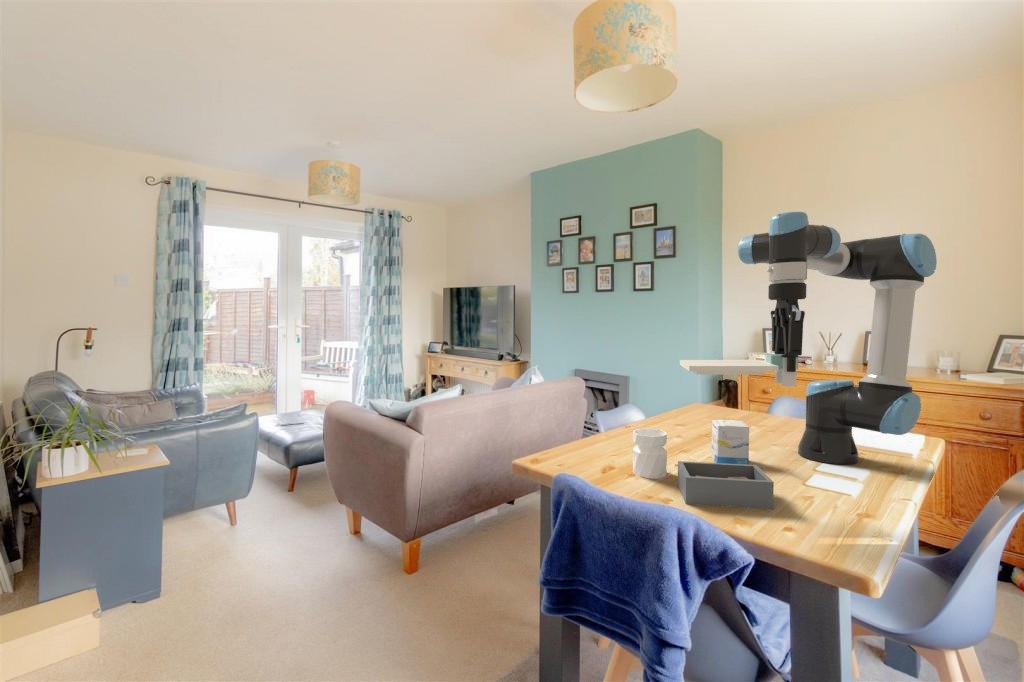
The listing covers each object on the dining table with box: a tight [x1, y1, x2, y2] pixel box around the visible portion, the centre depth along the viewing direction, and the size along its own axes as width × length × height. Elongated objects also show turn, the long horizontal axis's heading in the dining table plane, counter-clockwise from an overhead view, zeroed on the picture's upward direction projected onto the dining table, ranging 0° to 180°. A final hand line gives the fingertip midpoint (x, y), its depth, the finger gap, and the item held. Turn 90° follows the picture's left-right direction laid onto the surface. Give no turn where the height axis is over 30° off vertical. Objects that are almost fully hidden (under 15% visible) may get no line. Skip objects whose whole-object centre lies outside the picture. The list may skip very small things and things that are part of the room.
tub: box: [677, 460, 775, 510], centre depth 111 cm, size 18×12×7 cm, turn 79°
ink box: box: [710, 419, 750, 465], centre depth 140 cm, size 8×8×12 cm
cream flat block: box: [679, 353, 799, 376], centre depth 112 cm, size 24×13×4 cm, turn 80°
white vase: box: [632, 428, 668, 480], centre depth 128 cm, size 9×9×12 cm
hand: (785, 384), depth 111 cm, fingers closed on cream flat block, 3 cm apart
